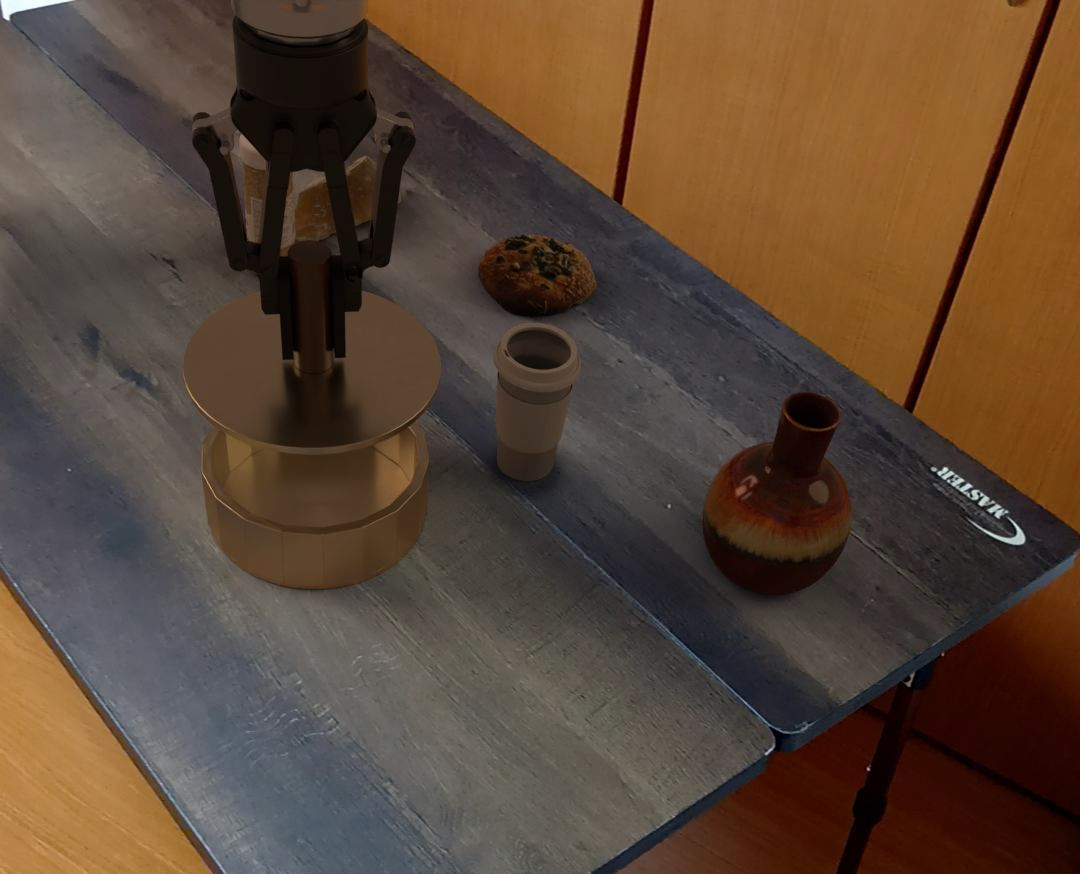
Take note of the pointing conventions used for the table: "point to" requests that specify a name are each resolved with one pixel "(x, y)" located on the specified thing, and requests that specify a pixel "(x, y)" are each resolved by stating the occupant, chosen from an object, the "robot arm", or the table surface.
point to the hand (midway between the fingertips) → (313, 345)
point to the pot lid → (311, 367)
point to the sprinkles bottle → (254, 195)
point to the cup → (532, 397)
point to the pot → (316, 508)
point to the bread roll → (536, 275)
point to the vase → (781, 504)
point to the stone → (316, 205)
